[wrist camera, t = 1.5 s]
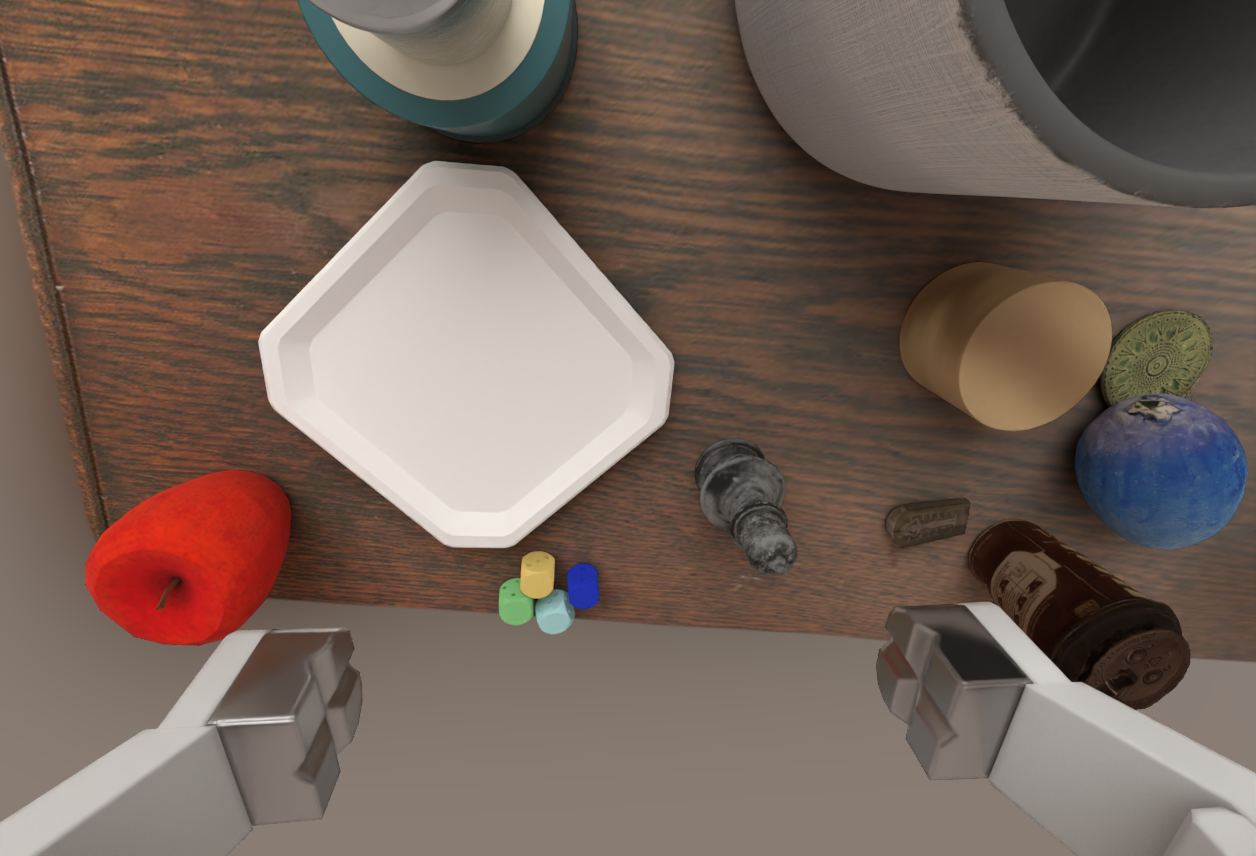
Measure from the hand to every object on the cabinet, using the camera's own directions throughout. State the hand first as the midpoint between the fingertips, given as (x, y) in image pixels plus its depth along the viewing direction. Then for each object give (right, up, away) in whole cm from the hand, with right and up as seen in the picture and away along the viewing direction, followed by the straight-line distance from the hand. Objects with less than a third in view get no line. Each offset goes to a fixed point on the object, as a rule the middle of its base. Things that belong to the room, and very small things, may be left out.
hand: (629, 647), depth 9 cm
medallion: (+37, +8, +34) cm, 51 cm away
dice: (-5, -12, +37) cm, 39 cm away
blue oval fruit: (+33, +8, +29) cm, 45 cm away
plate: (-10, +7, +30) cm, 32 cm away
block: (+23, -4, +36) cm, 43 cm away
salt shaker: (+7, 0, +35) cm, 36 cm away
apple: (-26, -2, +32) cm, 42 cm away
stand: (+23, +10, +32) cm, 40 cm away
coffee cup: (+31, -7, +40) cm, 51 cm away
